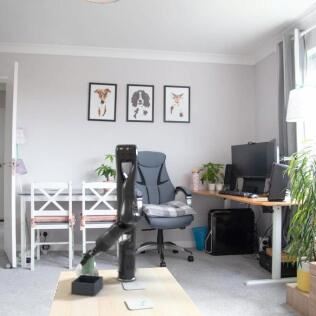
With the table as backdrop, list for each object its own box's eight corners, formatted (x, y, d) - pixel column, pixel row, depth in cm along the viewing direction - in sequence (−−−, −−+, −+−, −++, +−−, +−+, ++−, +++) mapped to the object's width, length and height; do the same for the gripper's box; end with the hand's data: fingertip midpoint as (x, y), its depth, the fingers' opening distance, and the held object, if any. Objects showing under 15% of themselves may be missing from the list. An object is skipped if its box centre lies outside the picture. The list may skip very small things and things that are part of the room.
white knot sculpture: (78, 275, 191) (78, 259, 191) (100, 275, 192) (100, 259, 192) (74, 282, 180) (75, 265, 180) (98, 282, 181) (98, 265, 181)
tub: (80, 285, 176) (81, 274, 176) (102, 287, 174) (102, 276, 174) (71, 294, 164) (71, 282, 165) (94, 296, 162) (94, 284, 163)
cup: (84, 270, 173) (84, 252, 173) (95, 271, 172) (96, 252, 172) (79, 273, 167) (79, 255, 167) (91, 274, 166) (91, 255, 166)
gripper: (108, 231, 174) (87, 253, 178) (95, 236, 161) (72, 260, 164) (118, 242, 173) (96, 264, 176) (105, 249, 159) (82, 272, 162)
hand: (84, 262), depth 170 cm, fingers closed on cup, 6 cm apart
